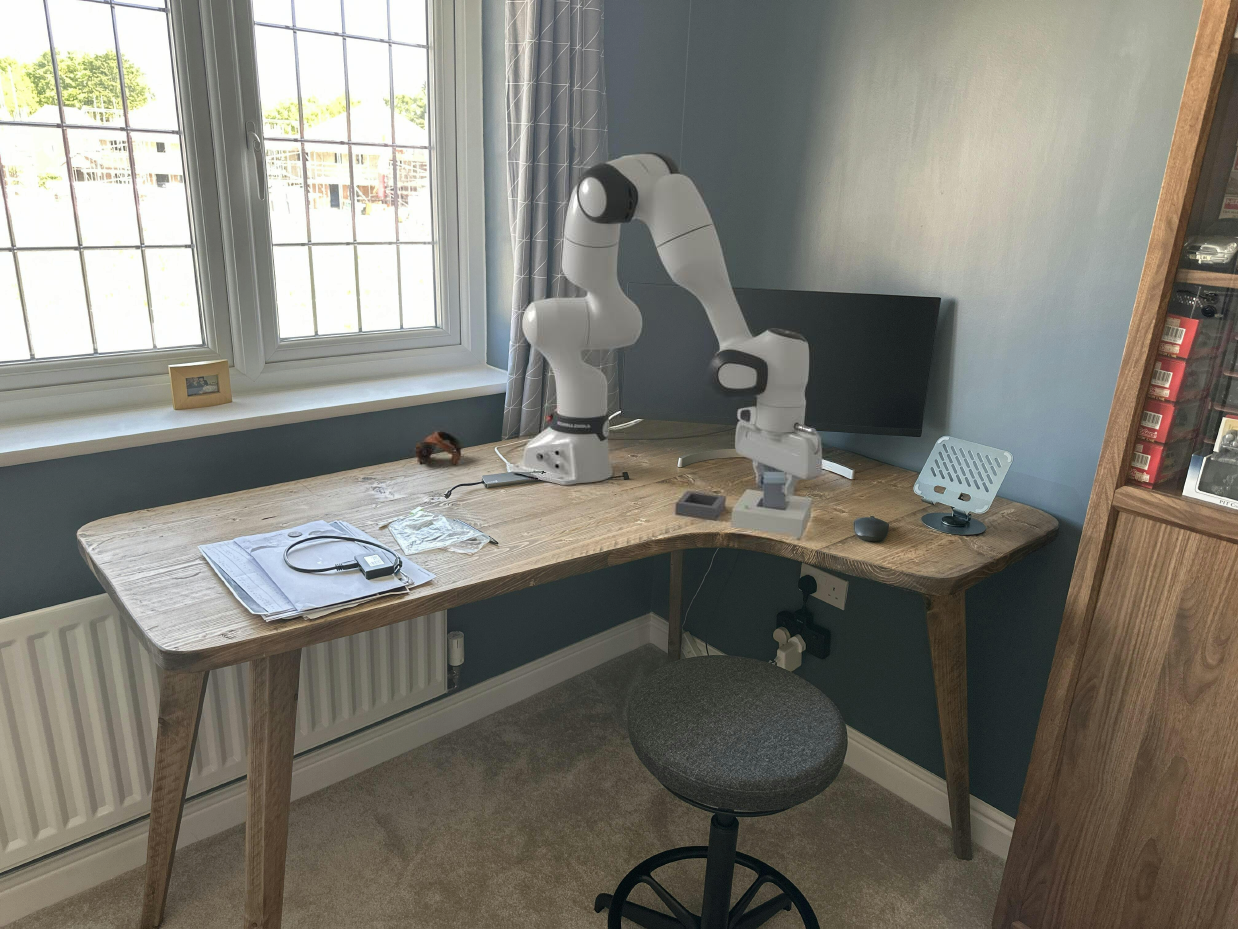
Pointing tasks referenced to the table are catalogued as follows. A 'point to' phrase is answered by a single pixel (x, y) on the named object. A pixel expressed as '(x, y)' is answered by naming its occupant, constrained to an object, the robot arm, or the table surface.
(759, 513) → the panel
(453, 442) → the orange curved piece
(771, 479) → the plug
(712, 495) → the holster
